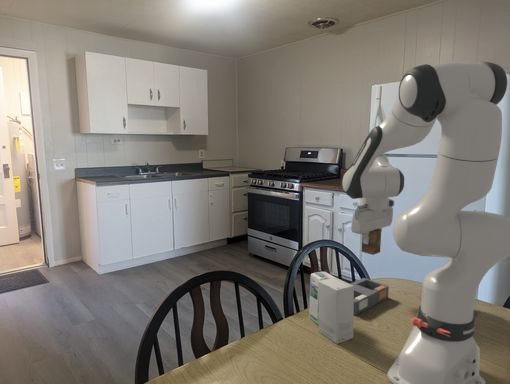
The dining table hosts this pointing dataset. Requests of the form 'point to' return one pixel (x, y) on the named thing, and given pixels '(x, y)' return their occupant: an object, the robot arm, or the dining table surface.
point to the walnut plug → (372, 242)
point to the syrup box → (316, 293)
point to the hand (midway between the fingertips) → (371, 241)
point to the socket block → (368, 294)
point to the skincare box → (336, 309)
